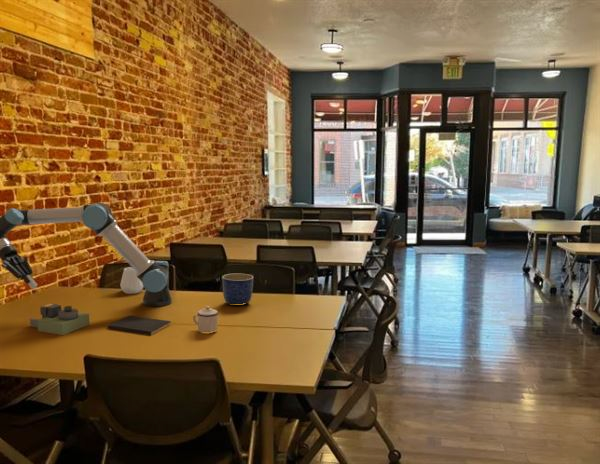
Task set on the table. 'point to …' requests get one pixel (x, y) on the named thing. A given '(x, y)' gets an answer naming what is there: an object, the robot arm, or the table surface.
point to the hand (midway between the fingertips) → (35, 287)
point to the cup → (131, 282)
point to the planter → (237, 288)
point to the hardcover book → (138, 325)
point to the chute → (50, 310)
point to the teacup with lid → (206, 319)
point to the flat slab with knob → (62, 322)
